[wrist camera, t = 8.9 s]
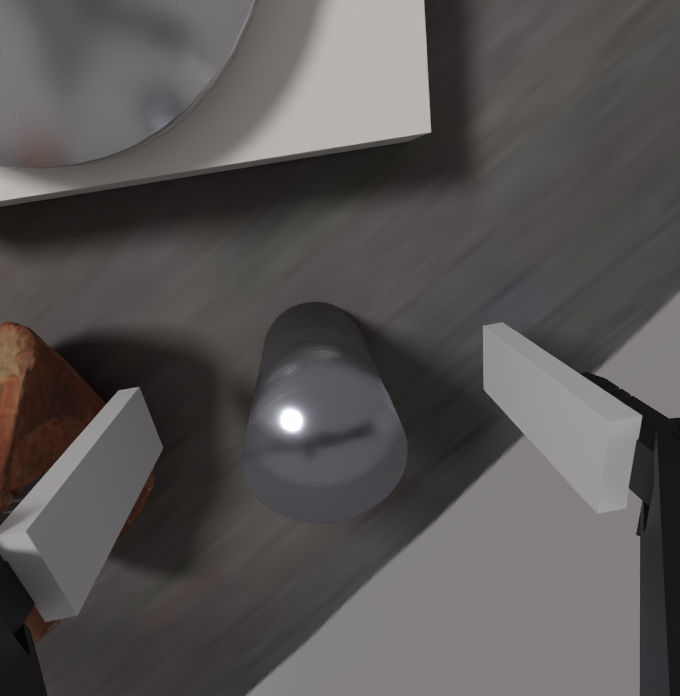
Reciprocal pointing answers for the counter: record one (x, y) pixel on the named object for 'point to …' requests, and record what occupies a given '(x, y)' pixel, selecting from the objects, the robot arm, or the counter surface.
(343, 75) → the scale
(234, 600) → the counter surface
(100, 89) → the pan
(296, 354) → the metal cylinder
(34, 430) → the brown lumpy chunk
